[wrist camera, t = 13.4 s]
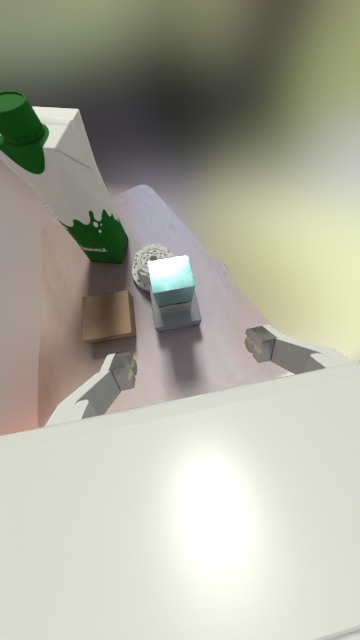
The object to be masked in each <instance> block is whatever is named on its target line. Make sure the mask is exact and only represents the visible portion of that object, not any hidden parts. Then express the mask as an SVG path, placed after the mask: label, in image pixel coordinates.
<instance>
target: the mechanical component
mask: <svg viewBox="0 0 360 640" xmlns="http://www.w3.org/2000/svg"><path fill="white" fill-rule="evenodd" d="M169 258H175V256H174V255H173V254H172V253H171V251H170V250H169V249H167V248H166V247H164V246H162V244H160V245H158V244H155V245H153V244H150V245H149V246H146V247H142V249H141V250H140V251H139V252H138V253H136V256H135V257H134V263H133V266H132V275H133V278H134V280H135V282H136V284H137V285H138V286H139V287H140V288H142V289H143V290H145V291H148V292H150V287H149V286H151V279H150V273H149V266H148V262H150V261H156V260H162V259H169Z"/></svg>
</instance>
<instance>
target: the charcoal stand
mask: <svg viewBox="0 0 360 640" xmlns="http://www.w3.org/2000/svg"><path fill="white" fill-rule="evenodd" d="M149 287H150V295H151V302H152V309H153V317H154V324H155V329H156V330H157V332H160V331H166V330H171V329H177V328H183V327H188V326H194V325H199V324H200V322H201V320H202V319H201V315H200V311H199V307H198V302H197V298H196V294H195V290H194V294H193V300H192V305H191V311H190V312H186V313H181V314H175V315H170V316H164V317H162V316H161V314H160V311H159V308H158V306H157V303H156V301H155V298H154V295H153V292H152V286H149Z"/></svg>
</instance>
